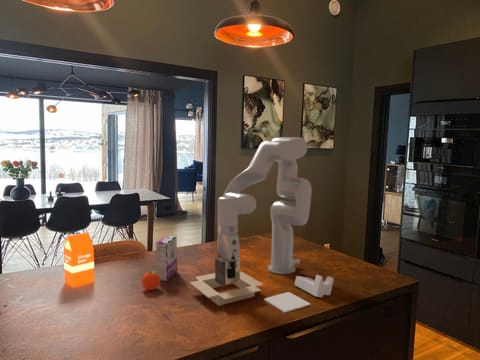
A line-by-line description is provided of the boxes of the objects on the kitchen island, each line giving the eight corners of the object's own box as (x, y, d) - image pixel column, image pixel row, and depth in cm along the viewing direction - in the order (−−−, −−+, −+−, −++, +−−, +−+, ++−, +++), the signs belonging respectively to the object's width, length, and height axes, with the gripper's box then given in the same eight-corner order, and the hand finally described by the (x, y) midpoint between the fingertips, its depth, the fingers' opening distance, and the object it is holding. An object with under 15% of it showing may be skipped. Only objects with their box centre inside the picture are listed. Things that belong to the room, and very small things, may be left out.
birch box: (233, 276, 147) (233, 254, 146) (239, 281, 143) (240, 258, 142) (215, 281, 143) (215, 258, 142) (221, 285, 139) (221, 262, 137)
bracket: (329, 297, 143) (334, 278, 143) (316, 296, 140) (320, 277, 140) (307, 286, 154) (311, 268, 155) (294, 284, 151) (298, 266, 151)
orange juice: (94, 282, 151) (93, 234, 149) (72, 288, 145) (71, 238, 143) (86, 277, 157) (84, 230, 155) (64, 282, 150) (62, 234, 148)
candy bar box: (166, 271, 165) (166, 235, 163) (177, 272, 164) (177, 235, 162) (156, 280, 154) (155, 241, 153) (167, 281, 153) (167, 242, 152)
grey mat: (288, 293, 144) (288, 291, 144) (310, 305, 134) (310, 303, 134) (263, 299, 138) (263, 298, 138) (284, 312, 128) (284, 311, 127)
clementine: (156, 283, 151) (156, 266, 150) (165, 289, 146) (165, 271, 145) (138, 289, 145) (138, 271, 145) (147, 294, 140) (147, 276, 140)
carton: (236, 277, 159) (236, 268, 159) (269, 298, 139) (269, 287, 139) (185, 288, 146) (185, 278, 146) (213, 312, 127) (214, 301, 126)
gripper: (248, 232, 135) (248, 280, 137) (224, 223, 149) (224, 266, 152) (230, 235, 131) (230, 285, 133) (208, 225, 145) (208, 270, 148)
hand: (227, 274), depth 142 cm, fingers closed on birch box, 5 cm apart
